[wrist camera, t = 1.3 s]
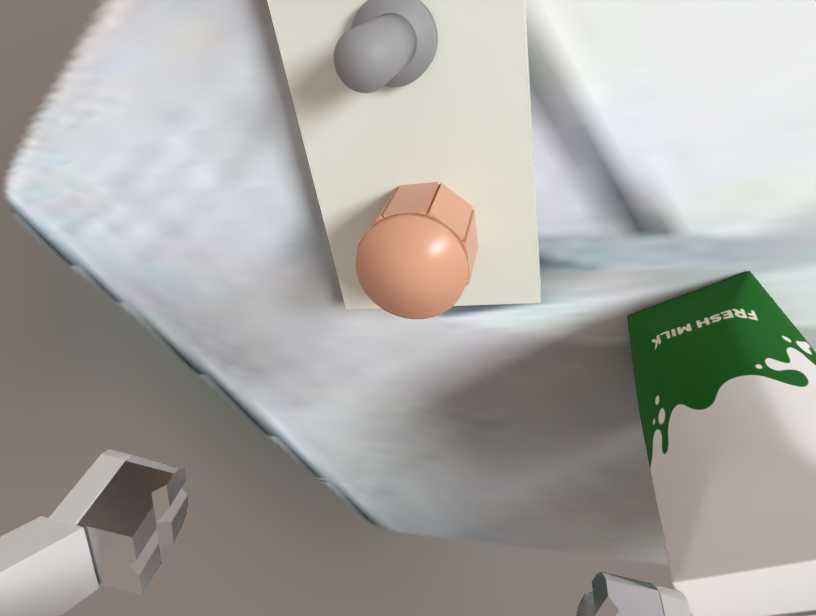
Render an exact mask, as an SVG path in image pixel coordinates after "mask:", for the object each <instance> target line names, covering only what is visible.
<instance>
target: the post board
mask: <svg viewBox="0 0 816 616" xmlns="http://www.w3.org/2000/svg"><path fill="white" fill-rule="evenodd" d="M267 2H268V6H269V10H270V14H271V18H272V22H273V26H274V30H275V34H276V37H277V41H278V45H279V49H280V53H281V57H282V61H283V65H284V69H285V73H286V77H287V80H288V84H289V88H290V92H291V96H292V100H293V104H294V108H295V112H296V116H297V119H298V123H299V127H300V131H301V135H302V139H303V143H304V147H305V151H306V155H307V159H308V162H309V166H310V170H311V174H312V178H313V182H314V186H315V190H316V194H317V198H318V202H319V205H320V209H321V213H322V217H323V221H324V225H325V229H326V233H327V237H328V241H329V244H330V248H331V252H332V256H333V260H334V264H335V268H336V272H337V276H338V280H339V284H340V287H341V291H342V295H343V299H344V303H345V307H346V310H351V309H379V308H380V307H379V306H378V305H376V304H375V303H374V302H373V301H372V300H371V299H370V298H369V297H368V295H367V294H366V293H365V292H364V290H363V288H362V287H361V284H360V282H359V280H358V276H357V272H356V255H357V252H358V251H357V248H358V244H359V242H360V241H361V239H362V237H363V236H364V234H365V233H366V231H367V229H368V228H369V226H370V224H371V223H372V221H373V220H374V218H375V216H376V215H377V213H378V212H379V211H380V209H381V208H382V207H383V205H384V204H385V203H386V201H387V200H388V199H389V197H390V196H391V195H392V194H393V192H394V191H395V190H396V188H397V187H398V188H399V187H400V185H408V184H419V183H430V182H439V186H440V185H441V184H442V183H443V184H444V185H446V186H447V187H448V188H449V189H451V190H452V191H453V192H455V193H456V194H457V195H458V196H460V197H461V198H462V199H464V200H465V201H466V202H467V203H469V204H470V205H471V206H473V208H472V210H475V218H476V227H477V236H478V249H477V254H476V258H475V262H474V267H473V271H472V276H471V280H470V283H469V284H468V285H467V286H466V287H465V288H464V291H463V293H462V295H461V297H460V298H459V300H458V301H457V302H456V303H455V304H454V305H453V306H464V305H492V304H520V303H540V300H541V280H540V262H539V244H538V225H537V207H536V189H535V171H534V153H533V135H532V117H531V99H530V81H529V63H528V44H527V26H526V8H525V0H267Z"/></svg>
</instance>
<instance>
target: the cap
mask: <svg viewBox="0 0 816 616" xmlns="http://www.w3.org/2000/svg"><path fill="white" fill-rule="evenodd" d="M472 208H473V206H471V205H470V204H469V203H467V202H466V201H465V200H464V199H462V198H461V197H460V196H458V195H457V194H456V193H455V192H453V191H452V190H451V189H449V188H448V187H447V186H446V185H444V184H443V183H442V184H441V185H440V186H439V182H430V183H419V184H408V185H400V187H399V188H398V187H397V188H396V190H395V191H394V192H393V194H392V195H391V196H390V197H389V199H388V200H387V201H386V203H385V204H384V205H383V207H382V208H381V209H380V211H379V212H378V213H377V215H376V216H375V218H374V220H373V221H372V223H371V224H370V226H369V228H368V229H367V231H366V233H365V234H364V236H363V237H362V239H361V241H360V242H359V244H358V248H357V251H358V252H357V255H356V272H357V276H358V280H359V282H360V284H361V287H362V288H363V290H364V292H365V293H366V294H367V295H368V297H369V298H370V299H371V300H372V301H373V302H374V303H375V304H376V305H378V306H379V307H380V308H382V309H384V310H385V311H387V312H389V313H391V314H394V315H396V316H399V317H403V318H409V319H426V318H431V317H434V316H437V315H440V314H442V313H444V312H445V311H447V310H448V309H450V308H451V307H452V306H453V305H454V304H455V303H456V302H457V301H458V300H459V298H460V297H461V295H462V293H463V291H464V288H465V287H466V286H467V285H468V284H469V283H470V280H471V276H472V271H473V267H474V262H475V258H476V254H477V249H478V236H477V227H476V218H475V210H472Z"/></svg>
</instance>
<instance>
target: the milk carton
mask: <svg viewBox="0 0 816 616" xmlns="http://www.w3.org/2000/svg"><path fill="white" fill-rule="evenodd" d="M627 319H628V326H629V334H630V343H631V351H632V360H633V368H634V377H635V384H636V392H637V398H638V405H639V412H640V417H641V423H642V428H643V433H644V438H645V444H646V449H647V454H648V460H649V465H650V470H651V475H652V481H653V486H654V491H655V497H656V502H657V507H658V511H659V516H660V521H661V525H662V529H663V533H664V538H665V543H666V546H665V551H666V555H667V558H668V562H669V565H670V571H671V576H672V584H673V586H674V587H675V589H676V590H678V591H680V592H683V594H684V595H685V597H686V598H687V601H688V605H689V609H690V613H691V616H816V353H815V352H814V350H813V349H812V347H811V346H810V345H809V343H808V342H807V341H806V339H805V338H804V337H803V336H802V334H801V333H800V332H799V331H798V330H797V328H796V327H795V326H794V325H793V324H792V322H791V321H790V320H789V319H788V317H787V316H786V315H785V314H784V313H783V311H782V310H781V309H780V308H779V306H778V305H777V304H776V303H775V301H774V300H773V299H772V298H771V297H770V295H769V294H768V293H767V292H766V290H765V289H764V288H763V287H762V286H761V284H760V283H759V282H758V281H757V279H756V278H755V277H754V276H753V274H752V273H751V272H750V271H748V272H746V273H743V274H740V275H738V276H735V277H732V278H730V279H727V280H724V281H721V282H719V283H716V284H713V285H711V286H708V287H705V288H702V289H700V290H697V291H694V292H691V293H689V294H686V295H683V296H681V297H678V298H675V299H672V300H670V301H667V302H664V303H662V304H659V305H656V306H653V307H651V308H648V309H645V310H643V311H640V312H637V313H634V314H632V315H629V316H627Z"/></svg>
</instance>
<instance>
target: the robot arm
mask: <svg viewBox="0 0 816 616" xmlns="http://www.w3.org/2000/svg"><path fill="white" fill-rule="evenodd" d="M185 481H186V475H185V469H183V468H179V467H175V466H171V465H168V464H164V463H160V462H156V461H152V460H149V459H144V458H141V457H137V456H135V455H131V454H127V453H123V452H118V451H115V450H111V449H108V450H107V451H105V452H104V453H102V454H101V455H99V457H98V458H97V459H96V460H95V461H94V463H93V464H92V465H91V466H90V468H89V469H88V470H87V471H86V472H85V474H84V475H83V476H82V477H81V479H80V480H79V481H78V482H77V484H76V485H75V486H74V487H73V488H72V489H71V491H70V492H69V493H68V495H67V496H66V497H65V498H64V499H63V501H62V502H61V503H60V504H59V505H58V506H57V508H56V509H55V510H54V511H53V513H52V514H51V515H50V516H49V517H44V516H40V517H38V518H36V519H34V520H32V521H30V522H28V523H26V524H24V525H22V526H20V527H18V528H16V529H14V530H12V531H10V532H8V533H6V534H4V535H2V536H0V616H61V615H63V614H64V613H65V612H67V611H68V610H70V609H71V608H72V607H74V606H75V605H76V604H78V603H79V602H80V601H82V600H83V599H85V598H86V597H87V596H89V595H90V594H91V593H93V592H94V591H95V590H97V589H98V588H99V585H101V586H106V587H110V588H114V589H118V590H123V591H127V592H131V593H136V594H140V595H143V594H144V592H145V590H146V589H147V587H148V585H149V583H150V582H151V580H152V578H153V576H154V575H155V573H156V571H157V570H158V568H159V566H160V565H161V556H160V550H162V549H163V548H165V547H166V546H168V545H169V544H171V543H173V542H174V540H175V539H176V537H177V535H178V533H179V531H180V530H181V527H182V525H183V522H184V519H185V516H186V513H187V507H188V495H187V494H186V493H185V492H184V490H183V489H182V486H183V485H184V483H185ZM592 587H593V591H592V592H590V593H587V594H584V596H583V598H582V600H581V602H580V604H579V606H578V611H577V615H576V616H691V613H690V609H689V605H688V601H687V598H686V597H685V595H684V594H683V592H680V591H678V590H673V589H669V588H664V587H660V586H656V585H653V584H651V583H647V582H643V581H638V580H634V579H630V578H626V577H621V576H617V575H613V574H608V573H604V572H600V573H598V574H597V575H596V576H595V578H594V579H593V581H592Z"/></svg>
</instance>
